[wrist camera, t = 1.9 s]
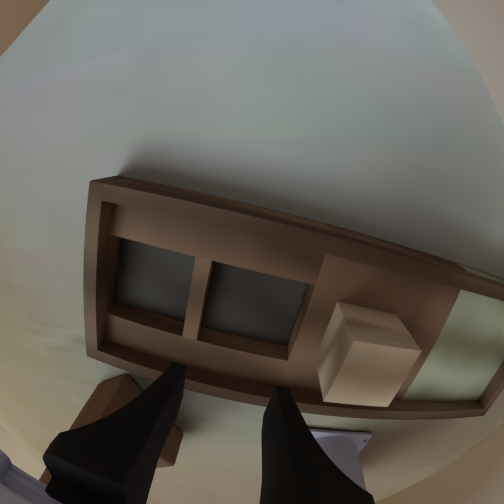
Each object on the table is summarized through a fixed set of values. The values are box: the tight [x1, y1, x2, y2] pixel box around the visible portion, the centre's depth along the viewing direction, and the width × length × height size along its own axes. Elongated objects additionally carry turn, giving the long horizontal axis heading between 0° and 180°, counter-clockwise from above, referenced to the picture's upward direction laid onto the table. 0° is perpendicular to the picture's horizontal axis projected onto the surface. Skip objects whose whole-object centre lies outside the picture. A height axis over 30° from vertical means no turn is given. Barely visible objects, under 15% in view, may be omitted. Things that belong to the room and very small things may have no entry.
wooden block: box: [39, 374, 183, 485], centre depth 17 cm, size 9×4×18 cm, turn 29°
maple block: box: [315, 302, 421, 407], centre depth 18 cm, size 4×4×4 cm
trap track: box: [84, 176, 504, 420], centre depth 20 cm, size 13×37×4 cm, turn 77°
